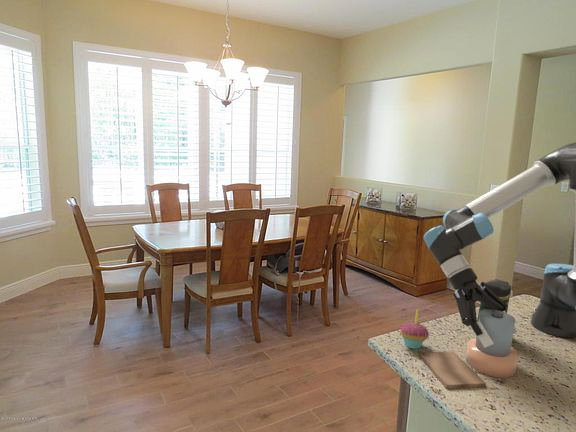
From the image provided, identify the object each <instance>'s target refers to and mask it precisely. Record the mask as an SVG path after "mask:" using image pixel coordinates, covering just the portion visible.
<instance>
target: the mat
mask: <svg viewBox="0 0 576 432" xmlns="http://www.w3.org/2000/svg"><path fill="white" fill-rule="evenodd" d="M418 357H419V358H420V359H421V360H422V361H423V363H424V364H425V365H426V366H427V368H428V369H429V370H430V372H432V373H433V375H434V377H436V378H437V379H438V380H439V382H440V383H441V384H442V385H443V386H444V388H445V389H463V388H482V387H483V388H486V385H487V383H486V382H485V380H483V379H482V378H481V376H479V375H478V374H477V373H476V372H475V371H474V369H473V368H472V367H470V366H469V365H468V363H467V362H466V361H465V360H463V359H462V358H461V357H460V356H459V355H458V354H457V353H456V352H455V351H429V352H427V351H425V352H423V351H422V352H418Z"/></svg>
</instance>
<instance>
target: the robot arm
mask: <svg viewBox="0 0 576 432" xmlns="http://www.w3.org/2000/svg"><path fill="white" fill-rule="evenodd" d="M564 181H569V187H568V188H569V191H571V192H572V193H574V195H575V197H574V199H575V200H574V201H575V203H574V229H573V230H574V236H573V237H574V238H573V239H574V240H573V242H574V243H573V264H566V263H549V264H547V265H545V269H544V272H543V281H542V286H541V292H540V297H539V299H540V300H539V303H538V305H537V307H536V309H535V310H534V313H532V314H531V317H530V324H531V325H532V326H533V327H534V328H536V329H537V330H539V331H542V332H543V333H546V334H549V335H552V336H556V337H560V338H568V339H571V338H572V339H573V338H576V142H572V143H568V144H565V145H562V146H561V147H558V148H556V149H555V150H553V151H550V152H549V153H547V154H545V155H544V156H543V157H541V158H539V159H536V161H534V162H533V164H532V166H530V168H528V169H526V170H524V171H522V172H520V173H519V174H518V175H516V176H514V177H512V178H511V179H509V180H507V181H505V182H504V183H502V184H499V185H498V186H496V187H495V188H493V189H492V190H489V191H488V192H485V194H482V195H481V196H479V197H478V198H475V199H474V200H473V201H470V202H469V203H467V204H466V205H463V206H462V207H460V208H458V209H450V210H448V211H446V212H445V213H444V215H443V217H442V224H443V225H438V226H433V227H432V228H431V229H429V230H428V231H426V232H425V234H423V240H424V243H425V245H426V246H427V248H428V250H429V251H430V253H431V255H432V256H433V257H434V259H435V261H436V262H437V264H438V265H439V267H440V268H441V270H442V272H443V273H444V275H445V276H446V278H449V279H448V282H449V283H450V285H451V286H452V288H453V289H454V290H455V291H454V292H453V293H452V295H453V297H454V298H455V300H456V305H457V309H458V311H459V315H460V319H461V323H462V325H465V326H466V327H471V329H472V330H473V332H474V333H475V336H476V335H477V336H478V338H479V339H480V341H481V343H482V344H483V346H484V348H485V347H488V346H490V345H492V344H494V343H493V341H492V340H491V338H490V337H489V335H488V333H487V332H486V330H485V329H484V327H483V326H482V324H481V322H480V321H479V322H477V319H478V316H477V308H476V303H477V302H479V303H480V302H482V303H484V304H485V305H486V306H488V307H489V308H491V309H492V310H499V311H502V312H505V310H507V305H506V304H505V303H504V302H503V301H502V300H501V299H500V298H499V297H498V296H497V295H496V294H494V293H493V292H492V291H491V290H490V289H489V288H488V287H487V285H486V284H485V282H484V281H482V282H480V283H477V280H478V276H477V274H476V273H475V271H474V269H473V268H471V267H470V266H471V265H470V264H469V262H468V260H467V259H466V258H465V256H464V254H463V253H462V252H461V251H462V250H464V249H465V248H467V247H470V246H472V245H473V244H476V243H477V242H480V241H482V240H484V239H486V238H487V237H489V236H490V235H493V233H494V225H493V223H492V222H491V220H490V218H491V217H493V216H495V215H496V214H498V213H501V211H505V210H506V209H508V208H509V207H511V206H513V205H514V204H516V203H518V202H519V201H521V200H523V199H525V198H527V197H529V196H530V195H532V194H535V193H536V192H538V191H539V190H541V189H542V188H545V187H547V186H550V187H553V186H555V185H557V184H558V183H560V182H564ZM500 304H501V305H500ZM507 311H508V310H507ZM505 313H506V312H505ZM518 332H519V330H518V329H517V327H516V324H515V325H514V332H513V335H514V334H516V333H518Z"/></svg>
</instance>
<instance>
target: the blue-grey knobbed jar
mask: <svg viewBox="0 0 576 432" xmlns="http://www.w3.org/2000/svg"><path fill="white" fill-rule="evenodd" d="M478 313H479V312H478ZM479 321H480V322H481V324H482V326H483V327H484V329H485V330H486V332H487V333H488V335H489V337H490V338H491V340H492V341H493V343H494V344H492V345H490V346H488V347H485V348H484V346H483V344H482V343H481V341H480V339H479V338H478V336H477V335H476V334H475V336H476V337H475V338H476V342H475V346H476V348H477V349H478V350H480V351H481V352H483V353H485V354H488V355H491V356H496V357H506V356H509V355H510V351H511V347H512V345H513V337H514V334H513V332H514V325H515V326H516V318H515V316H513V315H511V314H509V313H508V312H507V313H505V312H502V311H499V310H489V309H487V310H481V311H480V313H479V320H478V322H479Z"/></svg>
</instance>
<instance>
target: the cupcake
mask: <svg viewBox="0 0 576 432" xmlns="http://www.w3.org/2000/svg"><path fill="white" fill-rule="evenodd" d="M418 318H419V307H417V309H416V310H415V321H412V322H405V323H404V324H402V325H401V326H400V328H399V329H400V331H399V332H400V333H399V334H400V336H401V337H403V341H404V345H405V346H406V347H407V348H410V349H412V350H417V349H420V348H422V345H423V343H424V341H426V340H427V339H429V337H430V333H429V329H427V327H426V326H425V325H423V324H421V323H418Z"/></svg>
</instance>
